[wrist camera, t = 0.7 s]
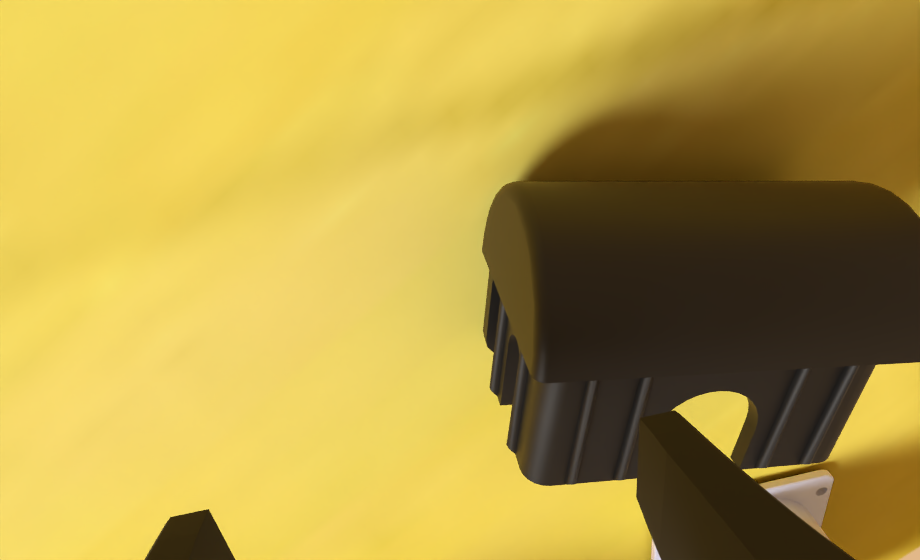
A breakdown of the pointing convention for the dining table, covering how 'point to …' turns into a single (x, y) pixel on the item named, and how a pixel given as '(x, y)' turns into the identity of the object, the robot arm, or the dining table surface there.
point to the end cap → (692, 312)
